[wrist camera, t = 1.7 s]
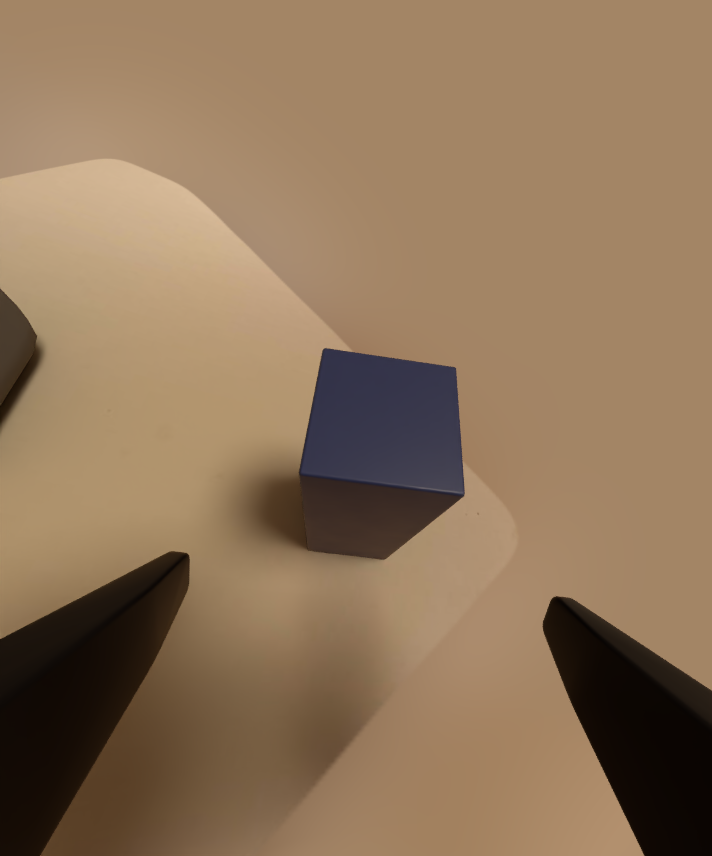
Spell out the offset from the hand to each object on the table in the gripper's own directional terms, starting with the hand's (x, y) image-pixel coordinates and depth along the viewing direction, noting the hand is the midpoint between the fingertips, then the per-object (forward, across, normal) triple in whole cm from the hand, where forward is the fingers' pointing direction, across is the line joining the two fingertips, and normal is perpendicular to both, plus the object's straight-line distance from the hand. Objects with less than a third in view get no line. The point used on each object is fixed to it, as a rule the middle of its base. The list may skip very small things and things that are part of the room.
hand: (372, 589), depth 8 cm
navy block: (+12, 0, +5) cm, 12 cm away
